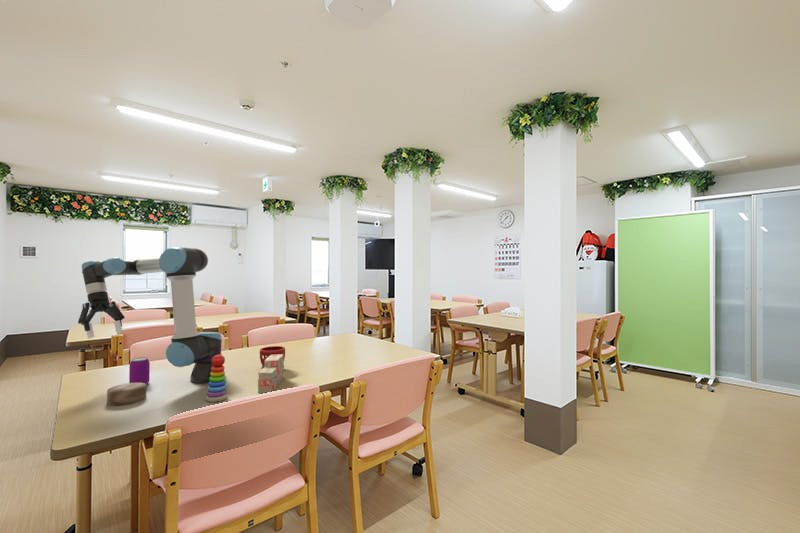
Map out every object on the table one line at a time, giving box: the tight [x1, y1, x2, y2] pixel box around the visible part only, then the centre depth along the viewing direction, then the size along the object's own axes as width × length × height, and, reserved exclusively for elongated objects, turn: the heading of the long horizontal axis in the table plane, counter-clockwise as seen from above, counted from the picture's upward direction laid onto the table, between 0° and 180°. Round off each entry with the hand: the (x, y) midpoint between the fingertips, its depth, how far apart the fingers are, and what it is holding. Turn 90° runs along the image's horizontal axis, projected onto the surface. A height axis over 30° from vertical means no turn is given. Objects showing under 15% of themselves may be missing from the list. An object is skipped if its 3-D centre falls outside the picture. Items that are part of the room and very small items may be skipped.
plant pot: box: [259, 345, 286, 370], centre depth 193 cm, size 13×13×12 cm
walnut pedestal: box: [106, 382, 147, 407], centre depth 149 cm, size 13×13×5 cm
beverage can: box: [128, 356, 151, 385], centre depth 167 cm, size 8×8×12 cm
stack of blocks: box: [257, 354, 285, 394], centre depth 169 cm, size 21×6×12 cm, turn 5°
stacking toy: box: [205, 354, 228, 403], centre depth 151 cm, size 8×8×19 cm
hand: (105, 335), depth 170 cm, fingers open, 13 cm apart
